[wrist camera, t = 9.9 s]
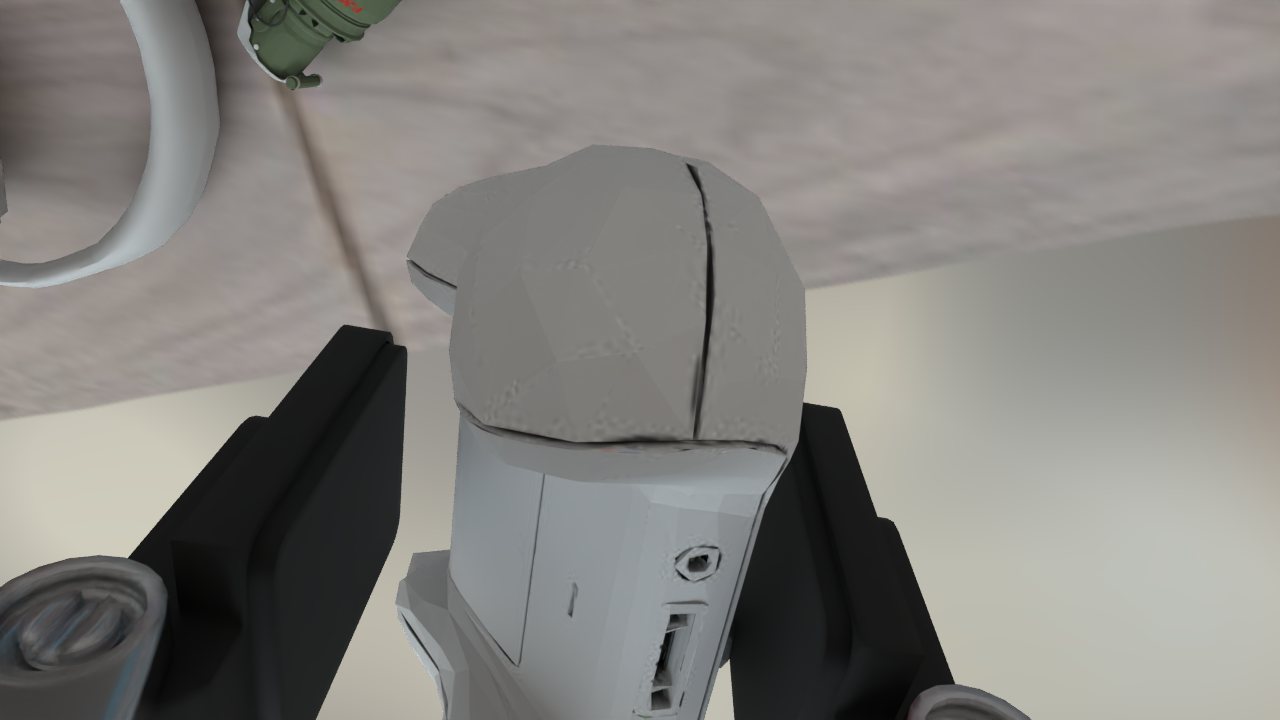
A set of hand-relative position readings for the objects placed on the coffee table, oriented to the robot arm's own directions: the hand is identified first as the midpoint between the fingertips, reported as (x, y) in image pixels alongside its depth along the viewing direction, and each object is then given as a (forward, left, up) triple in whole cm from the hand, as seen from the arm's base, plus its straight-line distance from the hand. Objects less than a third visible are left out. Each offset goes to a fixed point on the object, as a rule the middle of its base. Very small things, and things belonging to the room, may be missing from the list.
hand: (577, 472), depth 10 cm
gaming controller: (-1, +1, +5) cm, 5 cm away
